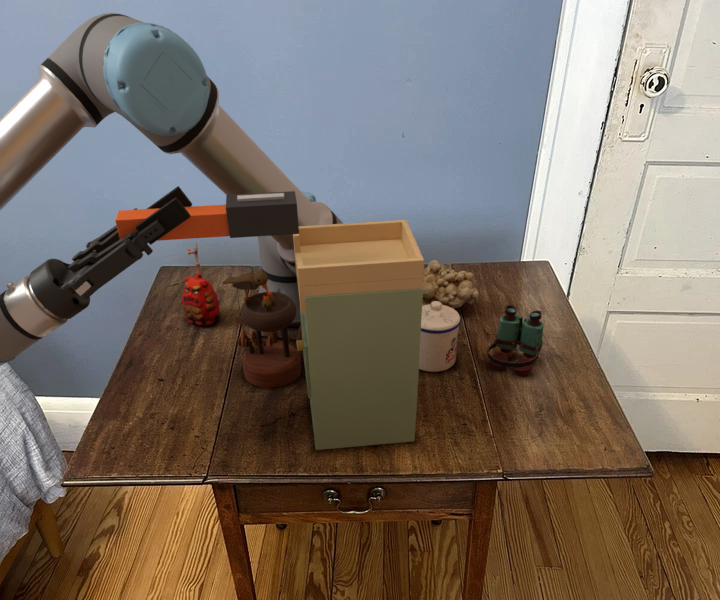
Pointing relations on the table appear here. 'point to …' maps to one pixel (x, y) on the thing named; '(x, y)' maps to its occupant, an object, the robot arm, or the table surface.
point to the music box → (268, 314)
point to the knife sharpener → (227, 218)
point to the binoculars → (517, 341)
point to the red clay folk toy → (199, 298)
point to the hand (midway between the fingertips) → (183, 201)
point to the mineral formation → (447, 286)
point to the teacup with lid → (438, 337)
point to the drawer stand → (360, 330)
